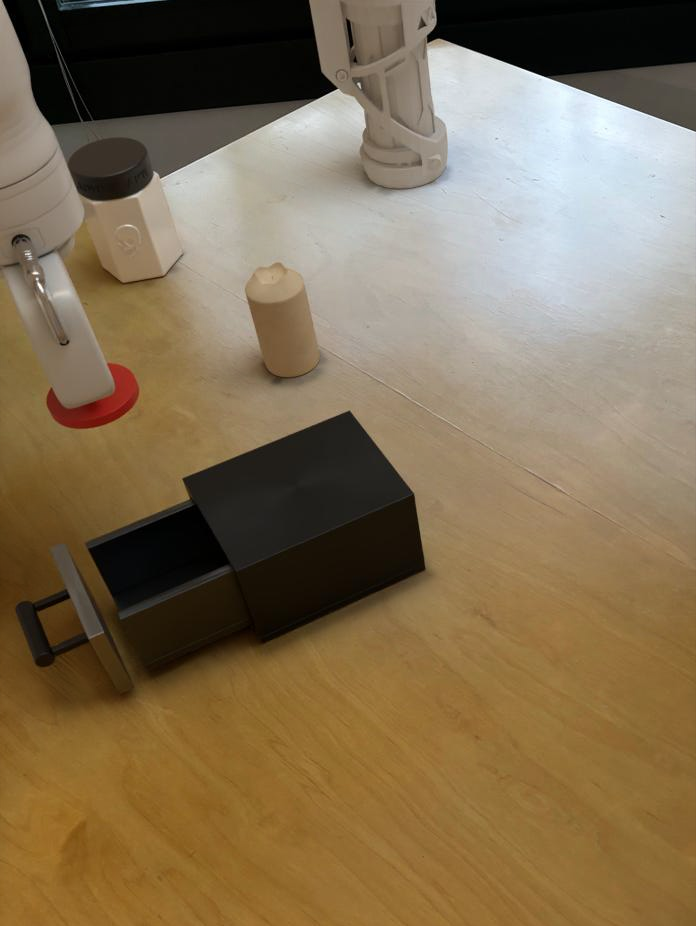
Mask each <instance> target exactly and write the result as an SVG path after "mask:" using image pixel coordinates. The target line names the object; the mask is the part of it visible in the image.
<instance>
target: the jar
mask: <svg viewBox="0 0 696 926" xmlns="http://www.w3.org/2000/svg"><path fill="white" fill-rule="evenodd" d="M67 166H68V168H69V171H70V174H71V176H72V179H73V181H74V184H75V186H76V189H77V191H78V194H79V197H80V199H81V202H82V204H83V207H84V219H83V222H84V223H85V226H86V228H87V231H88V233H89V236H90V238H91V242H92V244H93V247H94V249H95V252H96V255H97V257H98V260H99V262H100V265H101V267H102V268H103V269H104V270H106V271H107V272H108V273H110V274H111V276H113V277H114V278H116V279H117V280H119V281H120V282H121V283H122V284H126V283H131V282H132V283H133V282H138V281H143V280H149V279H155V278H161V277H164V276H165V275H166V274H167V273H168V272H169V271H170V269H171V268H172V267H173V266H174V265H175V264H176V262H177V261H179V259H180V258H181V256H182V255H183V254H184V251H183V248H182V245H181V241H180V237H179V235H178V232H177V229H176V226H175V222H174V219H173V216H172V213H171V210H170V206H169V203H168V200H167V196H166V194H165V191H164V187H163V184H162V181H161V178H160V174H159V173H158V172H156V171H155V170H154V169H153V165H152V163H151V159H150V156H149V153H148V149H147V147H146V146H145V145H144V143H142V142H141V141H139V140H137V139H135V138H130V137H124V136H123V137H122V136H121V137H119V136H118V137H117V136H116V137H108V138H107V137H106V138H102V139H97V140H95V141H92V142H89V143H87V144H85V145H83V146H81V147H79V148H78V149H77V150H75V151H74V152H73V153H72V154H71V156H70V157H69V158H68V161H67Z"/></svg>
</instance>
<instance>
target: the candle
mask: <svg viewBox="0 0 696 926" xmlns="http://www.w3.org/2000/svg"><path fill="white" fill-rule="evenodd" d="M244 293H245V297H246V300H247V303H248V308H249V311H250V315H251V319H252V322H253V326H254V330H255V333H256V336H257V337H256V338H257V341H258V344H259V348H260V352H261V355H262V358H263V362H264V365H265V368H266V369H267V370H268V372H270V374H272V375H274V376H277V377H282V378H294V377H299V376H302V375H305V374H307V373H309V372H311V371H312V370H313V369H315V368H316V367H317V365H318V364H319V362H320V358H321V357H320V355H321V353H320V349H319V342H318V339H317V334H316V329H315V325H314V321H313V315H312V311H311V307H310V303H309V298H308V294H307V289H306V285H305V281H304V277H303V276H302V275H301V274H300V273H299V272H298V271H296V270H294V269H293V268H291V267H288V266H286V265H285V264H283V263H282V262H280V261H277V262H276V261H275V262H274V263H272V264H271V265H269V266H259V267H256V268H255V269H254V271H253V273H252V275H251V276H250V278H249V279H248V280H247V282H246V284H245V287H244Z"/></svg>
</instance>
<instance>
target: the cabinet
mask: <svg viewBox="0 0 696 926" xmlns="http://www.w3.org/2000/svg"><path fill="white" fill-rule="evenodd" d="M181 480H182V483H183V485H184V487H185V490H186V492H187V495H188V498H189V499H193V501H194V503H195V504H196V506H197V508H198V510H199V511H200V513H201V515H202V517H203V518H204V520H205V522H206V524H207V525H208V527H209V529H210V531H211V532H212V534H213V536H214V538H215V539H216V541H217V543H218V544H219V546H220V548H221V550H222V551H223V553H224V555H225V557H226V558H227V560H228V562H229V564H230V565H231V567H232V569H233V571H234V572H235V575H236V578H237V581H238V583H239V586H240V589H241V592H242V594H243V597H244V600H245V602H246V605H247V608H248V611H249V613H250V616H251V619H252V622H253V624H251V625H250V626H251V627H252V630H253V631H254V633H255V634H256V636H257V638H258V639H259V641H260V643H261V644H265V643H268V642H269V641H272V640H274V639H276V638H278V637H281V636H283V635H285V634H287V633H290V632H292V631H294V630H296V629H298V628H300V627H303V626H305V625H307V624H309V623H311V622H314V621H315V620H318V619H320V618H323V617H324V616H326V615H328V614H331V613H334V612H335V611H338V610H339V609H342V608H344V607H346V606H348V605H350V604H353V603H355V602H357V601H359V600H361V599H363V598H366V597H368V596H370V595H372V594H374V593H377V592H379V591H381V590H383V589H385V588H388V587H390V586H392V585H394V584H396V583H398V582H401V581H404V580H405V579H408V578H409V577H411V576H414V575H416V574H418V573H420V572H422V571H424V570H426V563H425V556H424V547H423V542H422V536H421V530H420V523H419V517H418V510H417V509H418V508H417V503H416V497H415V496H416V495H415V493H414V492H413V490H412V489H411V488H410V486H409V485H408V484H407V482H406V481H405V480H404V478H403V477H402V475H400V473H399V472H398V471H397V469H396V468H395V467H394V465H393V464H392V463H391V462H390V460H389V459H388V458H387V456H386V455H385V454H384V453H383V451H382V450H381V449H380V448H379V446H378V445H377V444H376V442H375V441H374V440H373V438H372V437H371V436H370V435H369V433H368V432H367V430H366V429H365V428H364V427H363V425H362V424H361V423H360V422H359V420H358V419H357V418H356V417H355V415H354V414H353V413H352V411H351V410H347V411H344V412H342V413H340V414H337V415H335V416H332V417H330V418H327V419H324V420H321V421H319V422H317V423H315V424H312V425H310V426H307V427H305V428H303V429H300V430H297V431H295V432H293V433H290V434H287V435H285V436H283V437H281V438H278V439H275V440H273V441H271V442H269V443H268V442H267V443H266V444H263V445H260V446H259V447H256V448H254V449H251V450H249V451H246V452H244V453H241V454H239V455H237V456H233V457H231V458H229V459H226V460H224V461H221V462H219V463H216V464H214V465H212V466H209V467H207V468H204V469H202V470H199V471H197V472H195V473H192V474H189V475H187V476H185V477H182V478H181Z"/></svg>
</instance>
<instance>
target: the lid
mask: <svg viewBox="0 0 696 926" xmlns="http://www.w3.org/2000/svg"><path fill="white" fill-rule="evenodd" d="M106 363H107V365H108V367H109V370H110V372H111V375H112V377H113V380H114V384H115V391H114V393H113V394H112V395H110V396H108V397H105V398H103V399H100V400H97V401H95V402H92V403H89V404H86V405H83V406H80V407H76V408H72V409H68V408H65V407H64V406H63V405H62V404H61V403H60V401H59V400H58V398H57V397H56V395H55V393H54V391H53V389H52V386H51V387H50V389H48V392H47V394H46V399H45V400H46V401H45V404H46V407H47V409H48V412H49V413H50V416H51V417H52V419H53V420H54V421H55V422H56V423H57V424H59V425H61V426H63V427H65V428H69V429H74V430H89V429H94V428H99V427H103V426H106V425H108V424H110V423H113V422H115V421H117V420H119V419H120V418H122V417H123V416H125V415H126V414H127V413H129V411H130V410H132V408H133V407H134V406H135V404H136V403H137V401H138V399H139V396H140V386H139V383H138V380H137V378H136V376H135V374H134V373H133V371H131V370H130V369H129V368H128V367H126V366H124V365H121V364H117V363H112V362H106Z"/></svg>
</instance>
